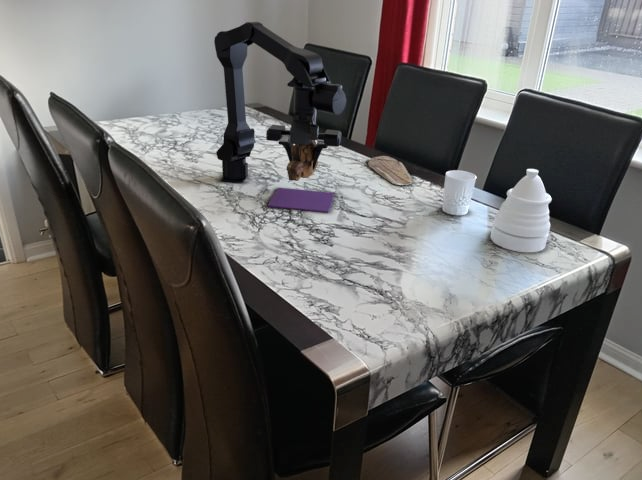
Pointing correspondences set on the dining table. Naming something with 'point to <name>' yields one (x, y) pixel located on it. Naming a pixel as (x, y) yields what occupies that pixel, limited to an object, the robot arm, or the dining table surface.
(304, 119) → the robot arm
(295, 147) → the wooden carving
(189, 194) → the dining table surface
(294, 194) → the cloth
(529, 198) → the honey pot
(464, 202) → the white cup
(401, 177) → the fish fossil
